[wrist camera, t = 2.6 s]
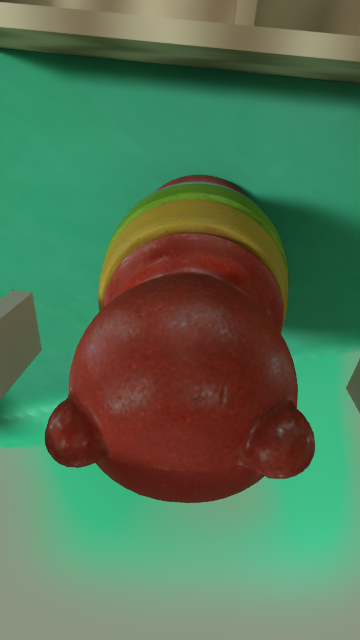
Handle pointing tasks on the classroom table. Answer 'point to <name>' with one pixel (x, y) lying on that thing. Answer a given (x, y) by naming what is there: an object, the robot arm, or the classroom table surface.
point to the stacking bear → (187, 353)
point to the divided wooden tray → (196, 33)
